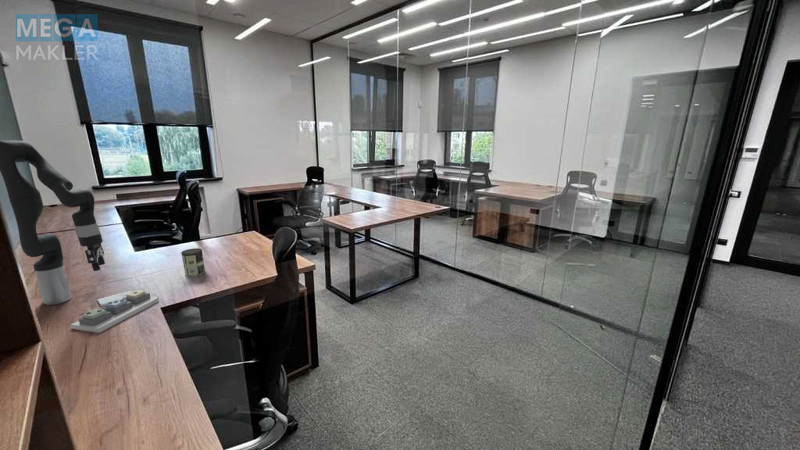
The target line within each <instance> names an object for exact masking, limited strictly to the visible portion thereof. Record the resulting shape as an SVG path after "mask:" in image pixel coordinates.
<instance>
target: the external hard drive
mask: <svg viewBox="0 0 800 450" xmlns="http://www.w3.org/2000/svg"><path fill="white" fill-rule="evenodd" d="M131 292H132V291H130V290H128V291H124V292H120V293H117V294H113V295H108V296H105V297H102V298H98V299H97V303H98V304H99V306H100V307H101V308H103V307H105V306H106V304H107V303H109V302H111V301H113V300H116V299H122V298H124V297H126V294H129V293H131Z"/></svg>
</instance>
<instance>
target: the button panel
mask: <svg viewBox="0 0 800 450" xmlns="http://www.w3.org/2000/svg"><path fill="white" fill-rule="evenodd" d="M145 293H146V294H145V295H143V296H141V297H139V298H137V299H130V298H127V297H124V298H122V299H123V300H127V303H126V304H124V305H122V306H120V307H118V308H116V309H114V308H106V306H102V307H101V309H103V310H106V314H104V315H102V316H100V317H98V318H96V319H93V320H92V319H85V318H83V316H81V317H79V318H78V320H77V321H75V322H73V323H71V324H70V327H71V329H73V330H77V331H78V330H79V331H84V332H91V333H97V334H98V333H102V332H104V331H106V330H108V329H109V328H111V327H114V326H115V325H117V324H118V323H121V322H122V321H125V320H127V319H128V318H130V317H132V316H134V315H136V314H138V313H140V312H142V311H143V310H145V309H147V308H149V307H151V306H153V305H154V304H155V305H156V303H159V302H160V300H159V297H156V296H151V294H150V292H145Z"/></svg>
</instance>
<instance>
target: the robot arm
mask: <svg viewBox="0 0 800 450" xmlns="http://www.w3.org/2000/svg"><path fill="white" fill-rule="evenodd" d="M26 162H27V163H28V164H30V165H32V166H33V167H34V168H35V170H36V176H37V178H38V181H39V182H40V183H42V184H43V185H44V186H45V187H46V188H48V189H49V190H50V191H52V192H53V194H54V195H55V197H56V198H57V199H58V200H59V202H60V203H61V204H62V205H63V206H65V207H67V208H76V207H79V210H78V211H75V212H73V213H72V214H71V218H72V220H73V221H72V222H73V225H74V227H75V233H76V236H77V238H78V239H77V240H78V242H79V245H80V246H81V247H86V248H87V249H86V250H85V251H84V253H85V256H86V259H87V262H88V263H87V264H91V267H92V270H93V271H94V272H97V271H98V272H99V271H100V270H101V266H103V265H104V266H105V265H106V262H105V259H104V254H105V251H104V248H103V246H102V243H103V242H104V240H103V238H102V234H101V231H100V227H99V225H98V223H97V219H96V217H95V197H94V194H93V193H92V192H91V191H90V190H89V189H85V188H81V189H80V188H79V189H73V188H74V185H73V183H72V181H70V180H69V179H68V178H66V177H65V176H64V175H63V174H61V173H60V172H59V171H57V170H56V169H55V168H54V167H53V166H52V165H51V164H50V163H49V162H48V160H47V159H46V158H44V155H42V154H41V153H40V152H39V151H38V150H37V149H36V147H34V146H33V145H32V144H31V143H29V142H28V141H25V140H20V139H19V140H14V139H9V140H8V139H3V140H1V139H0V174H1V176H2V179H3V182H4V185H5V188H6V190H7V196H8V199H9V202H10V206H11V209H12V210H13V214H14V217H15V221H16V225H17V229H18V235H19V242H20V246H21V249H22V251H23V252H24V254H25V255H26V256H28V257H29V258H38V257H40V259H39V260H38V261H36V262H35V263H34V264H33V269H34V273H35V276H36V280H37V282H38V285H37V286H38V289H39V292H40V296H41V299H42V302H43V303H44V305H45V304H46V306H52V305H57V304H63V303H64V302H65V303H66V302H68V301H69V300H71V299H72V298H73V296H72V293H71V290H70V289H71V288H70V286H69V282H68V277H67V274H66V270H65V267H64V263H63V262H64V255H63V249H62V246H61V241H60V240H59V237H57V235H55V234H54V233H50V232H46V233H41V234H38V233H37V223H38V221H39V219H40V216H41V215H42V212H43V209H44V202H43V199H42V196H41V192H40V190H39V189H37V188H36V186H35V185H33V184H32V182H30V181H28V180H27V179H26V178H25V177H24V176H23V175H22V174H21V172H20V171H19V169H18V167H17V164H16V163H26ZM72 189H73V190H72ZM41 256H42V257H41Z"/></svg>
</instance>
